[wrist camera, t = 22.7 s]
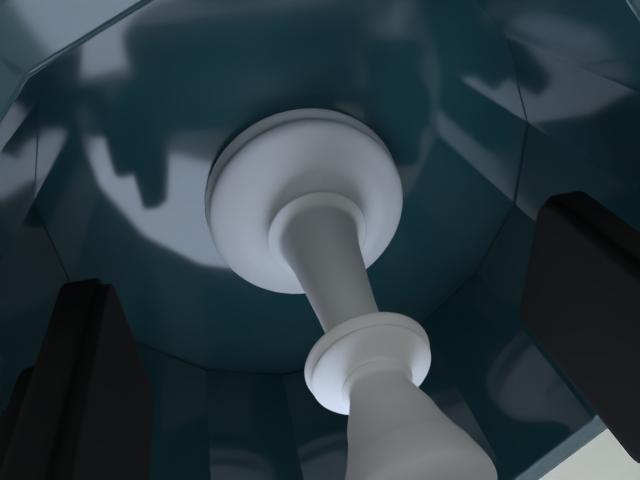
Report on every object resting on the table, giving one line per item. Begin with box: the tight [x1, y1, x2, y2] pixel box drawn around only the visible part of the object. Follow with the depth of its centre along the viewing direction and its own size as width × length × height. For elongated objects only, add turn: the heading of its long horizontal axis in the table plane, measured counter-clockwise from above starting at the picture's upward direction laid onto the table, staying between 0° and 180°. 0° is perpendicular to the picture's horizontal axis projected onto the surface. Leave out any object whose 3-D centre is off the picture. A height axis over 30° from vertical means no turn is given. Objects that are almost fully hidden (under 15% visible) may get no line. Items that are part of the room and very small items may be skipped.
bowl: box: [0, 0, 640, 480], centre depth 11 cm, size 13×13×6 cm
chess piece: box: [205, 108, 497, 480], centre depth 9 cm, size 5×5×10 cm
